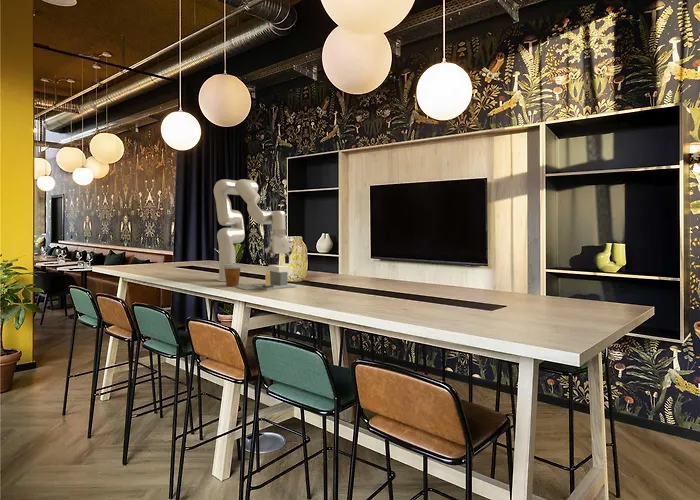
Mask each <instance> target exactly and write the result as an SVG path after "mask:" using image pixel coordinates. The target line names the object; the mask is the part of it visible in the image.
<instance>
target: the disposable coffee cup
mask: <svg viewBox="0 0 700 500" xmlns="http://www.w3.org/2000/svg"><path fill="white" fill-rule="evenodd" d="M241 268H242V265H241V263H232V264H224V269H225V277H226V282H225V284H226V287H231V286H233V287H235V286H240V285H239V282H240V274H241Z"/></svg>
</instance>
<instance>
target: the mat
mask: <svg viewBox="0 0 700 500" xmlns="http://www.w3.org/2000/svg"><path fill="white" fill-rule="evenodd" d="M236 287H237V288H236ZM234 288H236V289H240V290H244V291H249V290H250V291H251V289H252V290H260V289H261V288H258V287H254V286H252V285H250V284H249V285H248V284H247V285H238V286H234Z"/></svg>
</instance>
